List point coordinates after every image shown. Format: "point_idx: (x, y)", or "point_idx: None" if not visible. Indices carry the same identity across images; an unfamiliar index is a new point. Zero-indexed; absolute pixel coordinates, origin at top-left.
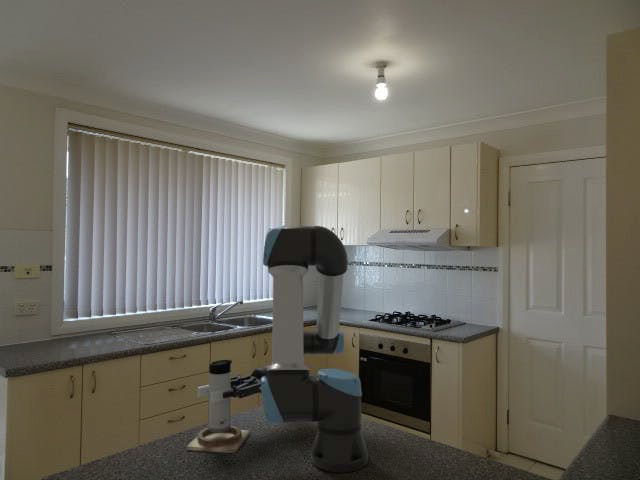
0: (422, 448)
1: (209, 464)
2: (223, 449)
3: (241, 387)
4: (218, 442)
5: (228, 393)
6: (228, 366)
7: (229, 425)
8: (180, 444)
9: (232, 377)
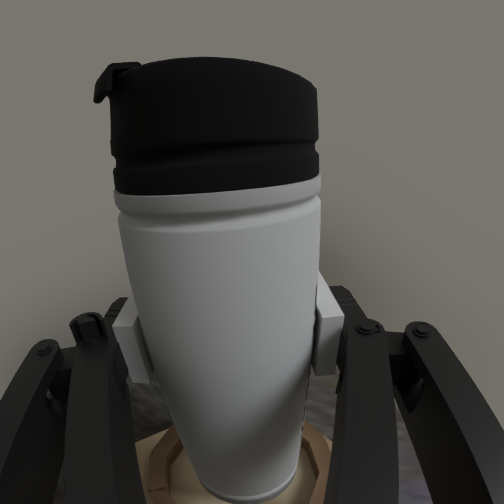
0: None
1: (132, 384)
2: (151, 437)
3: (72, 404)
4: (172, 427)
5: (109, 316)
6: (111, 126)
7: (199, 479)
8: (309, 391)
9: (501, 480)
